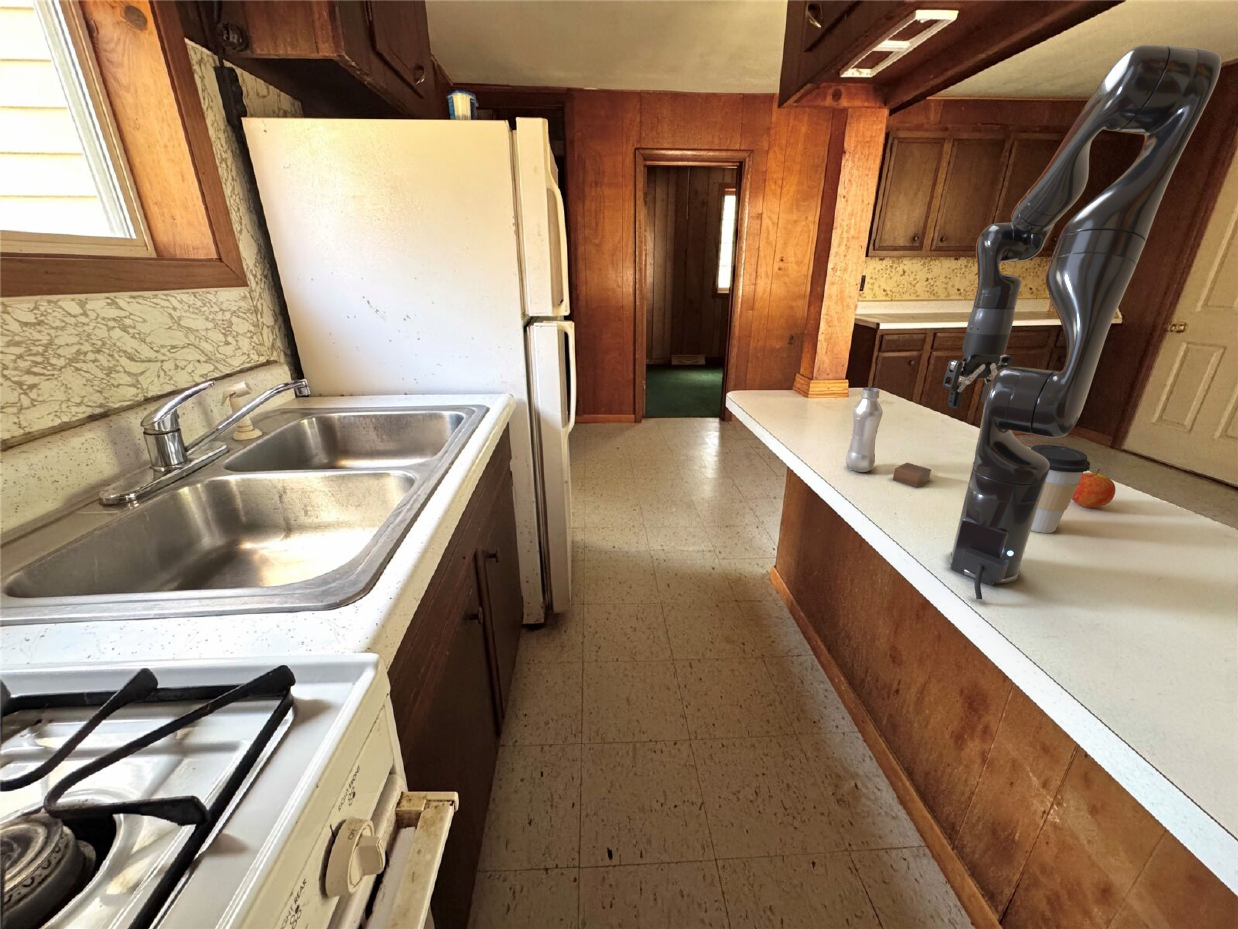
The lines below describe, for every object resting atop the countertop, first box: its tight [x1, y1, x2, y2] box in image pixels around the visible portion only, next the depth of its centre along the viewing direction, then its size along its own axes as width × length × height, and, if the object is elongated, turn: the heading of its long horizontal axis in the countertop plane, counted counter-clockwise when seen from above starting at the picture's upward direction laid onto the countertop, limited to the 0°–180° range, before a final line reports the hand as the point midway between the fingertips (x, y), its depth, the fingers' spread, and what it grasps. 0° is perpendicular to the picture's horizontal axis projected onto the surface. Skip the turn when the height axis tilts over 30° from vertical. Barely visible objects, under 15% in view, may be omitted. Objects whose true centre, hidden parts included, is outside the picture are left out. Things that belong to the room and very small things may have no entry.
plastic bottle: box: [845, 387, 883, 473], centre depth 121 cm, size 6×7×20 cm
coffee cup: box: [1030, 444, 1091, 534], centre depth 94 cm, size 9×9×15 cm
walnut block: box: [892, 462, 932, 488], centre depth 117 cm, size 6×6×3 cm
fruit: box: [1071, 468, 1116, 509], centre depth 102 cm, size 7×7×8 cm
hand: (969, 405), depth 111 cm, fingers open, 8 cm apart
